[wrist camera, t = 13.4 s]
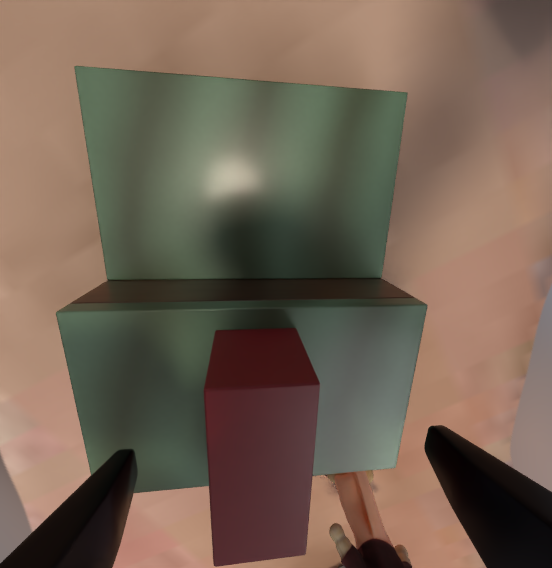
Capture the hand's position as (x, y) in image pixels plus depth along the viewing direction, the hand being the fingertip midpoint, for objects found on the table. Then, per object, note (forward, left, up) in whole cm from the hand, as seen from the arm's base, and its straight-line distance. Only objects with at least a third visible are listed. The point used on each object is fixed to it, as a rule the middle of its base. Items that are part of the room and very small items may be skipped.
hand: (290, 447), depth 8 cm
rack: (+1, -3, -13) cm, 13 cm away
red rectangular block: (+1, +2, -5) cm, 5 cm away
